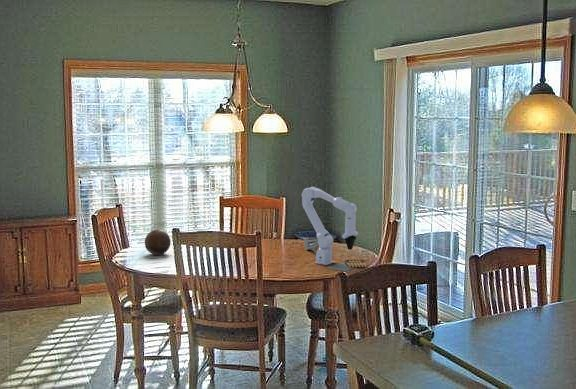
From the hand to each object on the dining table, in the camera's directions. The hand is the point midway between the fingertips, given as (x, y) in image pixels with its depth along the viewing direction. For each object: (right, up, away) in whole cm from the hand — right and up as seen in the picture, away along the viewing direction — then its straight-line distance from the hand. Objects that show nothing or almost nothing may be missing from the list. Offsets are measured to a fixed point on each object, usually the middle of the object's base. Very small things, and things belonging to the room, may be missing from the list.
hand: (349, 249), depth 369 cm
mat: (-4, -9, -4) cm, 11 cm away
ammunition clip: (+3, -7, +4) cm, 9 cm away
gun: (-19, -5, +34) cm, 39 cm away
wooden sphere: (-112, -5, +24) cm, 115 cm away
